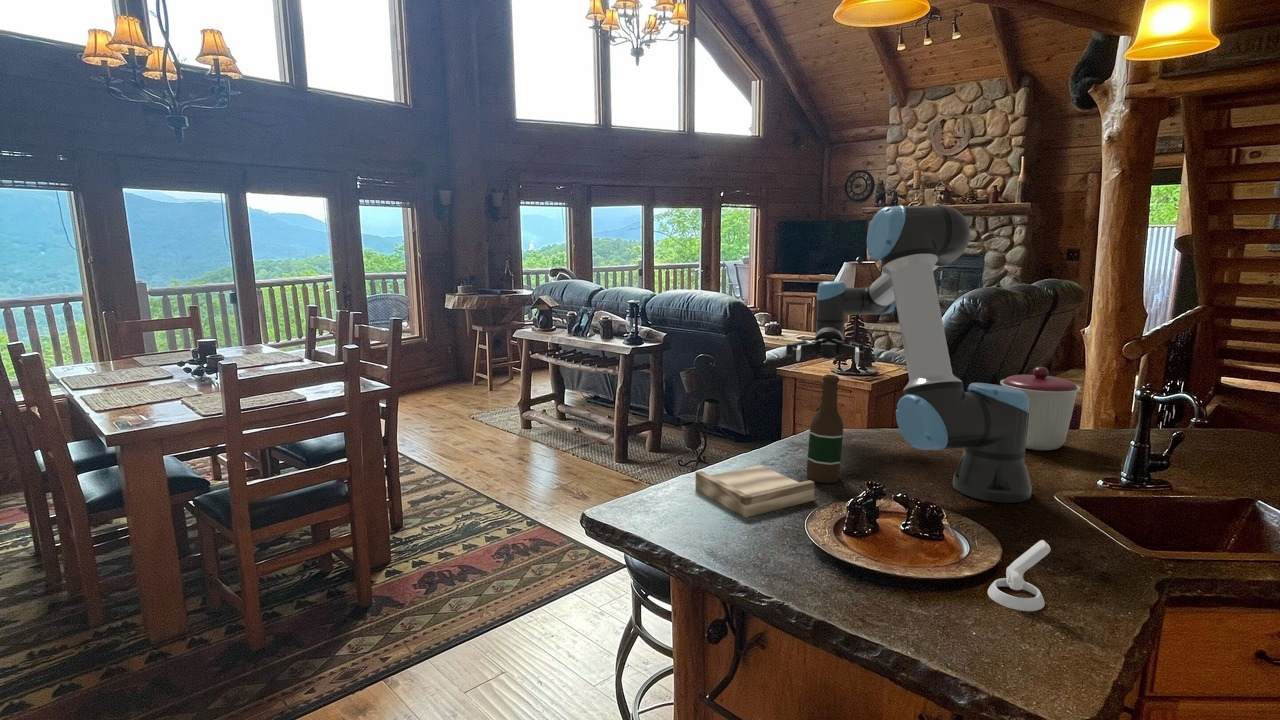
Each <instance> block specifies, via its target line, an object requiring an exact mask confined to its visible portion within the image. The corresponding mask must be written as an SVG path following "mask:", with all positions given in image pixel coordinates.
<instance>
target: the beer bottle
mask: <svg viewBox="0 0 1280 720" xmlns="http://www.w3.org/2000/svg"><path fill="white" fill-rule="evenodd" d="M822 381H823V386H822V391H821V392H822V393H821V399H820V405H819V408H818V409H817V411H816V412H815V414H814V416H813V417H812V420H811V423H810V428H809V435H808V436H809V437H808V448H807V449H808V451H807V462H806V478H807V479H809V480H810V481H813V482H816V483H823V484H832V483H838V481H839V479H840V478H839V477H840V472H841V459H842V450H843V449H842V448H843V437H844V423H843V418H842V416H841V415H840V413H839V411H838V383H839V382H840V377H839V376H838V375H835V374H825V375H823V378H822Z"/></svg>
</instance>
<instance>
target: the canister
mask: <svg viewBox="0 0 1280 720" xmlns="http://www.w3.org/2000/svg"><path fill="white" fill-rule="evenodd" d="M999 383H1000V386H1005V387H1010V388H1014V389H1018V390H1021V391H1023V392H1025V393H1026V394H1027V395H1028V397H1029V411H1030V414H1029V419H1028V429H1027V438H1026V449H1027V450H1033V451H1053V450H1054V451H1055V450H1058V449H1060V448H1061V447H1062V446H1063V445H1064V444H1065V442H1066V439H1067V436H1068V432H1069V429H1070V424H1071V420H1072V416H1073V411H1074V407H1075V403H1076V400H1077V399H1076V398H1077V394H1078V393H1079V392H1080V391H1081V389H1082V388H1081V386H1079V385H1078V384H1076V383H1075V382H1073V381H1071V380H1069V379H1066V378H1063V377H1058V376H1051V375H1049V370H1048V368H1047V367H1046V366H1045V367H1044V366H1035V368H1033V369H1032V374H1016V375H1015V374H1014V375H1010V376H1008V377H1006V378H1004V379H1001V380H1000V382H999ZM1026 449H1025V450H1026Z"/></svg>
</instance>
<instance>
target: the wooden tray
mask: <svg viewBox="0 0 1280 720" xmlns="http://www.w3.org/2000/svg"><path fill="white" fill-rule="evenodd" d="M695 490H696V491H698V493H699V492H700V493H701V494H702V495H705V496H707V497H708V498H710V499H711V500H713V501H715V502H717V503H718V504H721V505H723V506H724V507H726V508H728V509H730V510H731V511H733V512H735V513H736V514H738V515H740V516H741V517H743V518H749V517H754V516H758V515H760V514H764V513H765V514H766V513H769V512H774V511H776V510H777V511H778V510H781V509H785V508H789V507H793V506H796V505H801V504H805V503H810V502H813V501H814V500H815V481H813V480H811V479H809V480H804V481H797V480H795V479H793V478H790V477H788V476H786V475H783V474H781V473H779V472H777V471H774V470H772V469H770V468H767V467H765V466H763V465H761V464H757V465H754V466H751V467H746V468H741V469H739V468H738V469H736V470H731V471H725V472H722V473H716V474H711V475H710V474H707V473H706V472H704V471H703V470H700V471H699V470H698V471H696V472H695Z"/></svg>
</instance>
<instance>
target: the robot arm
mask: <svg viewBox="0 0 1280 720" xmlns="http://www.w3.org/2000/svg"><path fill="white" fill-rule="evenodd" d="M970 238H971V229H970V224H969V223H968V220H967V218H966V217H965V216H964V215H963V214H962V213H961V212H960V211H958V210H957V209H955V208H953V207H950V206H946V205H928V206H927V205H926V206H925V205H902V204H900V205H895V206H885V207H883V208H881V209H879V210H878V211H877V213H875V214H874V216H873V217H872V220H871V222H870V225H869V227H868V230H867V235H866V248H867V252H868V255H869V256H870V257H871V258H872V259H873V260H876V261H880V263H881V268H882V271H883V274H881V275H880V276H879V277H878V278H877V279H875V280H874V281H873V282H872V283H871V284H870V285H868V286H867V287H847V286H846V283H845V281H837V280H836V281H833V280H832V281H831V280H830V281H829V280H827V281H821V282H819V283H818V285H817V291H816V294H817V295H816V320H815V335H814V336H815V338H814V340H812V341H811V342H808V341H807V340H805V339H802V340H800V341H797V342H793V343H789V344H786V348H785V349H786V350H785V351H786V352H785V354H786V356H790V355H791V356H793V357H792V358H793V359H795V361H797V362H800V360H801V357H802V356H803V355H809V354H812V355H818V356H819V357H820V358H822V359H826V360H831V359H835V358H837V357H839V356H848V357H849V356H850V357H854V361H855V362H854V363H855V364H859V363H860V359H864V358H866V359H871V357H872V347H870V346H866V345H864V344H859V343H858V342H856V341H851V342H849V344H846V342H845V341H844V338H845V337H844V336H845V335H844V334H845V333H844V329H845V316H854V315H858V316H861V315H865V316H866V315H868V316H869V315H876V316H877V315H880V316H881V315H884V314H885V315H886V314H890V313H892V312H894V311H895V308H896V313H897V318H898V323H899V328H900V329H899V330H900V335H901V339H902V345H903V352H904V358H905V362H906V369H907V374H908V383H907V384H906V385H905V387H904V388H903V394H904V395H903V396H901V397H900V399H899V400H898V402H897V403H896V408H897V409H895V419H896V423H897V426H898V429H899V431H900V435H902V437H903V439H904V440H905V441H906V442H907V443H908V444H909V445H911V446H912V447H913V448H915V449H918V450H922V451H929V450H930V451H942V450H950V449H951V450H953V449H960V448H961V449H962V448H963V453H962V456H961V458H960V460H959V462H958V465H957V467H956V470H955V472H954V474H953V477H952V478H953V479H952V486H953V489H955V490H956V491H957V492H959V493H960V494H962V495H965V496H967V497H970V498H973V499H977V500H981V501H986V502H991V503H992V502H993V503H1001V504H1002V503H1003V504H1009V503H1010V504H1011V503H1012V504H1013V503H1022V502H1026V501H1028V500H1030V499H1031V497H1032V483H1031V478H1030V476H1029V471H1028V468H1027V463H1026V460H1025V457H1026V456H1025V455H1026V438H1027V429H1028V419H1029V414H1030V411H1029V397H1028V395H1027V394H1026V393H1025V392H1023V391H1021V390H1018V389H1014V388H1010V387H1005V386H1002V385H1001V384H1000V385H999V384H992V383H984V382H972V383H970V384H968V387H967V391H965V388H964V383H963V380H961V379H960V378H959V377H956V375H954V373H953V368H952V365H951V358H950V353H949V348H948V344H947V338H946V332H945V327H944V322H943V316H942V312H941V306H940V301H939V296H938V291H937V285H936V281H935V276H934V271H935V270H936V269H938V268H942V267H946V266H948V265H950V264H952V263H953V262H955V261H956V260H957V259H958V258H960V256H962V254H963V253H964V252H965V251H966V249H967V247H968V245H969V243H970Z"/></svg>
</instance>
